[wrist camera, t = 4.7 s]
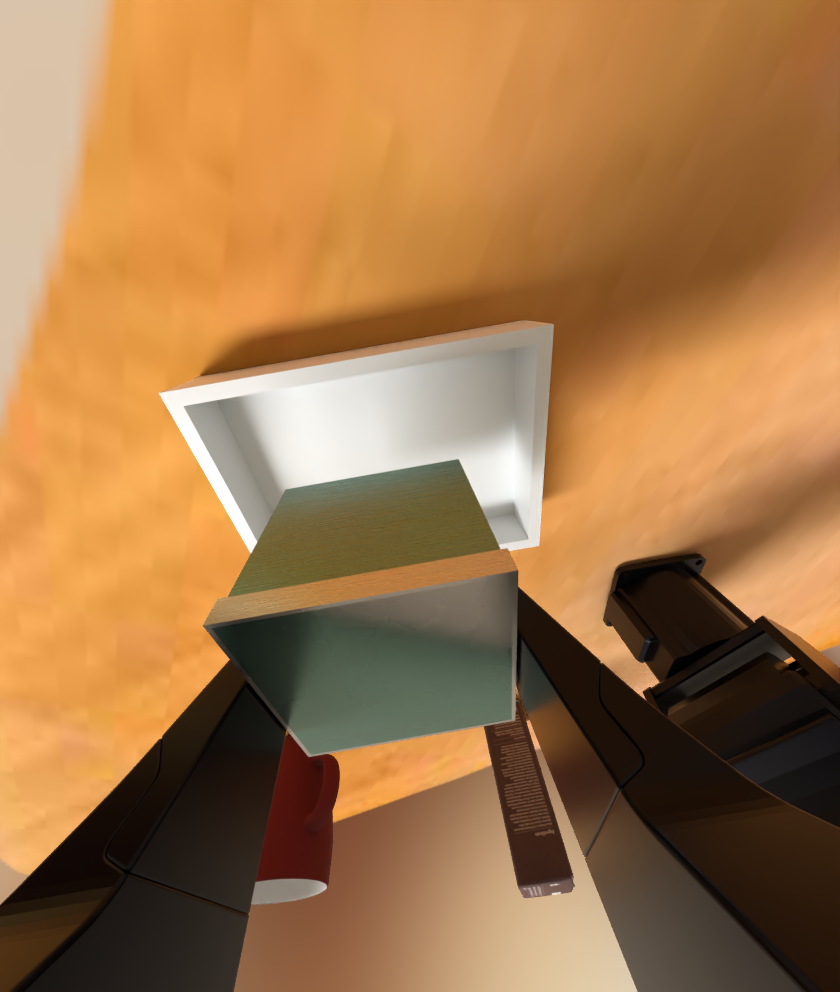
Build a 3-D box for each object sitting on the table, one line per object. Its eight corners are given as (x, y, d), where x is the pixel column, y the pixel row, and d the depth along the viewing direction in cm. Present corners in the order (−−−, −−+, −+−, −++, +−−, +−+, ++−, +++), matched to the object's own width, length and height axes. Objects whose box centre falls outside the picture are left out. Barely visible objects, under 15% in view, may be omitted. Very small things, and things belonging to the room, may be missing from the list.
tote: (524, 319, 14) (554, 324, 12) (519, 515, 20) (538, 545, 18) (198, 376, 14) (158, 392, 12) (287, 555, 20) (273, 592, 18)
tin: (472, 582, 13) (515, 720, 9) (334, 607, 13) (308, 757, 9) (461, 455, 10) (518, 570, 6) (280, 487, 10) (202, 625, 6)
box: (476, 707, 33) (517, 890, 23) (519, 697, 33) (580, 878, 22) (484, 732, 36) (523, 902, 26) (523, 723, 36) (578, 892, 26)
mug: (293, 702, 29) (256, 867, 21) (369, 720, 32) (364, 870, 24) (249, 750, 33) (202, 905, 25) (320, 762, 36) (300, 903, 28)
